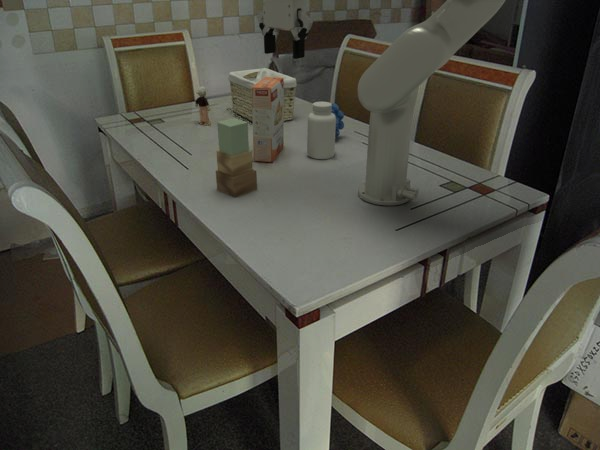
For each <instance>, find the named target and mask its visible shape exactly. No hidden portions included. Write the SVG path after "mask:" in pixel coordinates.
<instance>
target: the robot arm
mask: <svg viewBox="0 0 600 450" xmlns="http://www.w3.org/2000/svg"><path fill="white" fill-rule="evenodd" d="M306 1H307V0H262V2H263V3H262V4H263V5H262V6H263V7H262V10H261V11H260V12H259V13H257V14H256V19H257V23H258V26H259V29H260V30H261V35H262V36H263V48H264V49H263V51H264V54H266V55H268V54H273V53H276V52H277V49H276V47H277V46H276V45H277V44H276V43H277V41H276V34H274V33H275V32H276V30H280V31H290V32H291V34H292V36H293V38H294V39H293V40H292V58H293V59H295V60H296V59H297V60H298V59H303V58H304V57H305V55H306V54H305V48H306V47H305V40H307V38H308V35H309V34H310V33H311V29H312V26H313V23H314V20H313V19H312V18H311V17H310V16H309V15H308V14H307V4H306V3H307V2H306ZM506 1H507V0H446V1H445V2H444V3H443V4H442V5H441V6H440V7H439V8H438V9H437V10H435V12H434V13H432V15H430V16H429V17H428V18H427V19H426V20H424V21H422V22H421V23H417V24H415V25H413V26H411V27H409V28H408V29H406V30H405V31H404V32H402V33H401V34H400V35H399V36H398V37H397V38H396V39H395V40H394V41H393V42H392V43H391V44H390V45H389V46H388V47H387V48H385V50H384V51H383V52H382V53H381V54H380V56H378V57H377V59H375V61H374V62H373V63H372V64H371V65H370V66H369V67H368V68H367V69H366V70H365V71H364V72H363V74H362V75H361V77H360V79H359V81H358V84H357V97H358V98H357V99H358V100H359V103H360V104H361V105H362V107H363V108H364V109H366V110H367V111H369V112H370V115H369V123H368V124H369V125H368V137H367V150H366V151H367V152H366V154H367V155H366V166H365V167H366V169H365V170H366V171H365V182H364V183H362V184H361V185H360V186H359V187H358V192H357V193H358V196H359V197H360V198H361V199H362V200H363V201H365V202H367V203H370V204H374V205H377V206H387V207H388V206H398V205H403V204H405V203H407V202H408V201H412V202H416V201H417V200H418V196H419V192H420V190H419V189H418V188H415V187H412V186H411V179H408V178H407V176H408V168H409V167H408V165H409V158H410V157H409V156H410V147H411V136H412V132H413V131H412V129H413V124H414V123H413V120H414V115H415V110H416V109H415V108H416V103H417V99H418V94H419V87H420V86H421V85H422V84H423V83H424V82H425V81H427V79H429V78H430V77H431V76H432V75H433V74H434V73H435V72H436V71H438V70H440V68H442V67H444V66H445V65H446V64H447V63H448V61H449V60H450V59H451V58H452V57H453V56H454V55H455V53H457V52H458V51H459V50H460V49H462V47H463V46H464V45H465V44H466V43H467V42H468V41H469V40H470V39H471V38H472V37H473V36H475V34H477V32H479V31H480V29H481V28H483V27H484V26H485V25H486V24H487V23H488V22H489V21H490V20H491V19H492V18H493V17H494V16H495V15H496V14H497V12H498V11H499V10H500V9H501V8H502V6H504V5H503V4H504V3H505V2H506Z"/></svg>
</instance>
